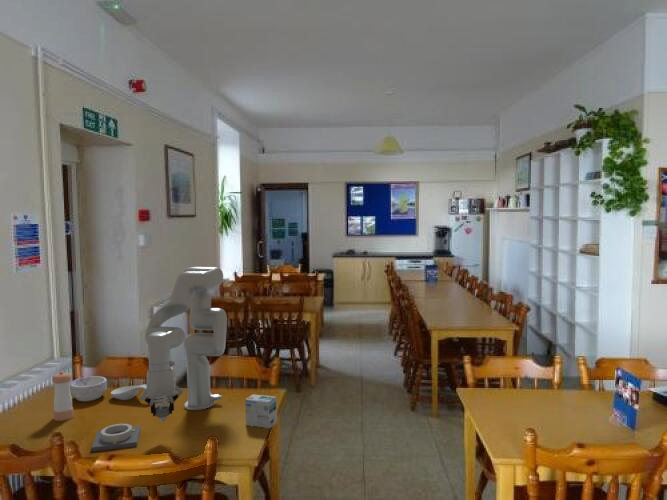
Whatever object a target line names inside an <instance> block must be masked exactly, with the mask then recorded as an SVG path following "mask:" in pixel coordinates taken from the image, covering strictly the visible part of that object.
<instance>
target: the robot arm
mask: <svg viewBox="0 0 667 500" xmlns="http://www.w3.org/2000/svg"><path fill="white" fill-rule="evenodd" d="M223 281H224V273H223V270H222V269H221V268H220V267H217V266H191V267H187V268H185V269H184V270H183V271H182V272H181V273H179V274H178V276H177V278H176V280H175V283H174V285H173V289H172V291H171V294H170V298H169V300H168V302H167V303H165V304H163V305H162V306H161V307H160V308H158V310H156V311H155V313H153V315H152V316H151V318H150V319H149V321H148V325H147V327H146V331H145V334H144V335H145V336H144V339H145V342H146V345H147V351H148V364H149V365H148V368H149V369H147V372H146V385H147V388H146V389H145V390H144V389H143V391H142V392H141V394H140V396H139V398H140V399H141V400H143V401H145V402H146V403H147V404H148V405H149V406H150V413H151V414H152V417H156V415H155V408H156V404H154V399H155V398H156V397H159V396H157V395H158V394H161V395H160V396H163V395H167V396H168V397H169V399H170V402H169V406H170V414H169V415H172V414H173V412H174V411H175V404H174V403H175V402H176V400H178V398H179V397H180V396H182V394H183V392H184V391H183V389H182V388H180V387H179V386H178V385H177V383H176V382H177V381H176V375H175V374H176V373H175V370H174V367H173V366H175V365H176V364H175V363H176V362H175V361H172V360H171V349H174V348H178V347H180V346H181V345H182V344H183V350H184V354H185V357H186V358H185V360H186V374H187V375H186V379H187V380H186V381H187V401H186V402H185V403H183V404H184V406H183V407H184V408H185V409H186V410H189V411H203V409H204V410H207V409H206V408H208V409H210V408H212V407H213V406H214V405H215V401H222V395H219V394H212V391H211V371H210V369H211V366H210V361H209V360H208V357H219V356H222V355H223V354H224V352H225V349H226V342H227V329H228V317H227V312H226V311H225V310H224V309H223V308H220V307H212V294H211V293H210V292H212V291H213V290H215V289H217V288H219V287H221V285H222V284H223ZM189 310H190V311H189ZM188 311H189V327H191V329H193V330H198V331H213V333H211V332H210V333H206V332H193V333H189V334H188V335H186V334H185V331H184V330H183V328H181V327H178V326H163V324H164V323H166V322H167V321H168V320H171V318H174V317H177V316H179V315H181V314H184V313H186V312H188ZM176 392H177V393H176ZM167 396H166V397H167ZM166 397H165V398H166ZM150 398H151V399H150ZM211 406H212V407H211ZM209 407H210V408H209Z"/></svg>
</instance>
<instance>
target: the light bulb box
mask: <svg viewBox="0 0 667 500" xmlns="http://www.w3.org/2000/svg"><path fill="white" fill-rule="evenodd" d="M244 405H245V406H244V407H245V426H246V425H253V426H260V427H265V428H264V429H268V428H269V430H270V429H271V428H272V427H274V426H275V425H276V424H277V423H278V416H277V415H278V411H277V409H278V407H277V396H276V395H275V396H272V395H264V394H263V395H262V394H260V395H259V394H254V393H253V394H251V395H250V396H249V397H248V396H247V398H245V403H244ZM253 426H252V427H253ZM260 427H259V428H260Z"/></svg>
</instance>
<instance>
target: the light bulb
mask: <svg viewBox="0 0 667 500" xmlns="http://www.w3.org/2000/svg"><path fill="white" fill-rule="evenodd" d="M160 395H161V394H158V395H157V396H159V397H156V398H155V399H154V401H155V403H154V404H155V417H156V418H159V421H161V422H165V421H166V420H167V418H168V416H170V415H171V414H170V399H169V397H168V396H167V395H163V396H160ZM166 396H167V397H166Z"/></svg>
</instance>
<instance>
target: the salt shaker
mask: <svg viewBox="0 0 667 500" xmlns="http://www.w3.org/2000/svg"><path fill="white" fill-rule="evenodd" d="M71 380H72V375H71V374H70V373H69V372H64V371H62V370H61V371H59V373H56V374H54V375H53V376H52V378H51V381H52V383H53V384H54V396H53V397H54V398H53V407H54V408H53V412H52V413H53V415H52V416H53V420H54V421H56V422H57V421H58V422H62V421H68V420H70V419H72V418H73V417H74V407H73V398H72V397H73V396H71V393H70V383H71V382H70V381H71Z"/></svg>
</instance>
